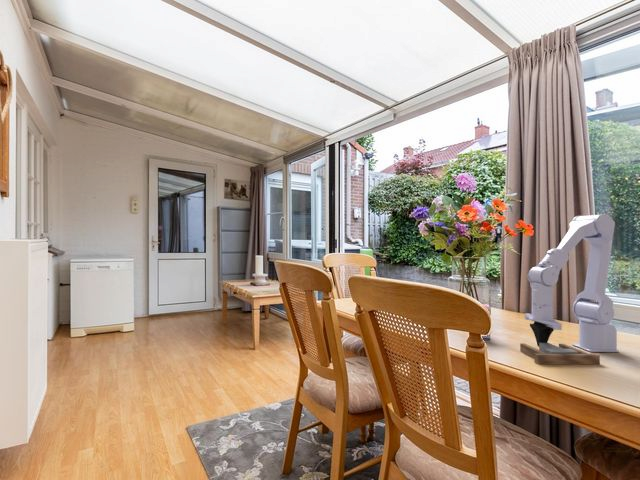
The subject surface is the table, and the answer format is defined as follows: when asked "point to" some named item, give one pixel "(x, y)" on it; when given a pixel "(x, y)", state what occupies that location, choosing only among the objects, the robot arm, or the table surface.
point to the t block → (554, 349)
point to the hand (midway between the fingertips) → (541, 347)
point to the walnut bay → (560, 356)
